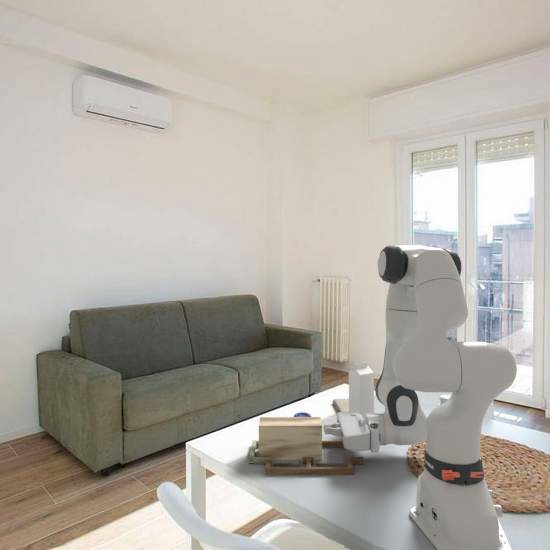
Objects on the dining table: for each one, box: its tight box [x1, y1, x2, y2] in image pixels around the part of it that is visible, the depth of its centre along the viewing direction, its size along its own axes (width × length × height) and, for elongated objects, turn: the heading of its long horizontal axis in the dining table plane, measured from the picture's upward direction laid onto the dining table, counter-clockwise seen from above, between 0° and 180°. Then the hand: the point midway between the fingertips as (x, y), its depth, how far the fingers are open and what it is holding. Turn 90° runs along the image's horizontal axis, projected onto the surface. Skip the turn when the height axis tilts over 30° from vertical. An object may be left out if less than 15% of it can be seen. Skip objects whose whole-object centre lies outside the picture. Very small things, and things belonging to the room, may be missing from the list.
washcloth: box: [332, 398, 349, 412], centre depth 170 cm, size 12×18×3 cm, turn 5°
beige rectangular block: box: [258, 416, 323, 461], centre depth 133 cm, size 7×18×10 cm, turn 88°
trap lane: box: [248, 440, 365, 476], centre depth 130 cm, size 18×32×2 cm, turn 88°
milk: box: [348, 361, 375, 417], centre depth 153 cm, size 6×6×22 cm
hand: (324, 429), depth 132 cm, fingers closed
